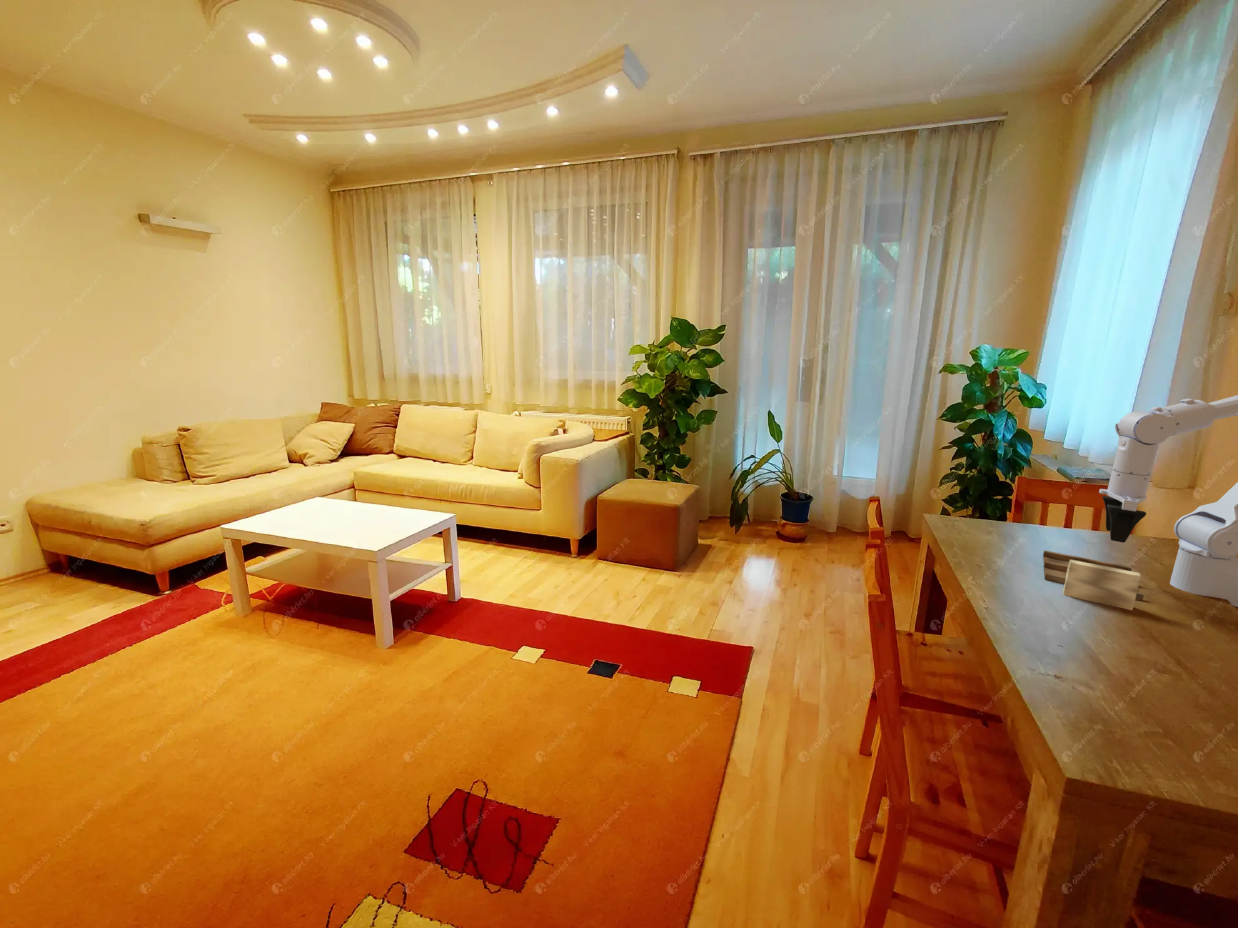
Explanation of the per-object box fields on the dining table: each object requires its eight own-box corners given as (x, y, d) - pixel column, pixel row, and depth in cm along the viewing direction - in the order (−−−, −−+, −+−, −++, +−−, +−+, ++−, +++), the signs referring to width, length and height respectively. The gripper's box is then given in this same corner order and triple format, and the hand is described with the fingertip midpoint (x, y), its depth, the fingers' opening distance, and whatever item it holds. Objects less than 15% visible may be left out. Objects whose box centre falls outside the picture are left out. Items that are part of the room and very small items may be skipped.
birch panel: (1130, 607, 101) (1139, 572, 100) (1132, 611, 100) (1140, 576, 98) (1062, 592, 107) (1069, 559, 106) (1063, 595, 106) (1070, 562, 104)
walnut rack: (1129, 575, 117) (1131, 566, 117) (1141, 604, 104) (1144, 594, 103) (1042, 558, 126) (1044, 550, 125) (1043, 582, 113) (1045, 574, 112)
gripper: (1101, 463, 116) (1086, 523, 119) (1109, 475, 104) (1092, 540, 108) (1146, 468, 112) (1129, 530, 115) (1159, 481, 100) (1141, 549, 103)
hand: (1115, 536), depth 111 cm, fingers open, 7 cm apart
